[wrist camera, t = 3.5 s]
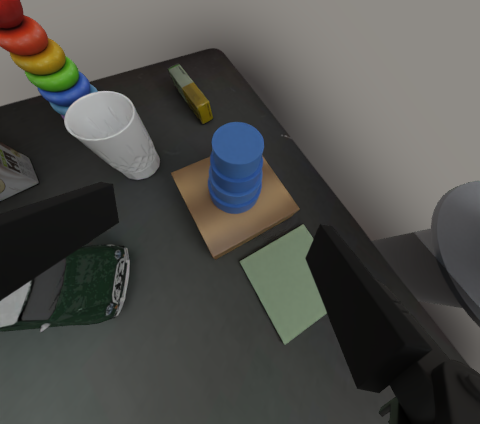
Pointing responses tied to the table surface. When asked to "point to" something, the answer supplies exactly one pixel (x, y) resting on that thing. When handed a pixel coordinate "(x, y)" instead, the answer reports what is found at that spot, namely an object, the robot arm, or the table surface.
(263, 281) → the coaster
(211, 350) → the table surface
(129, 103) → the white cup
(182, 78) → the medication box
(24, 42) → the stacking toy
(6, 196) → the coffee box
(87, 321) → the miniature car
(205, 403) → the table surface
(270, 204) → the platform
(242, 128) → the stacked blue discs
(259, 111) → the table surface
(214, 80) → the table surface
